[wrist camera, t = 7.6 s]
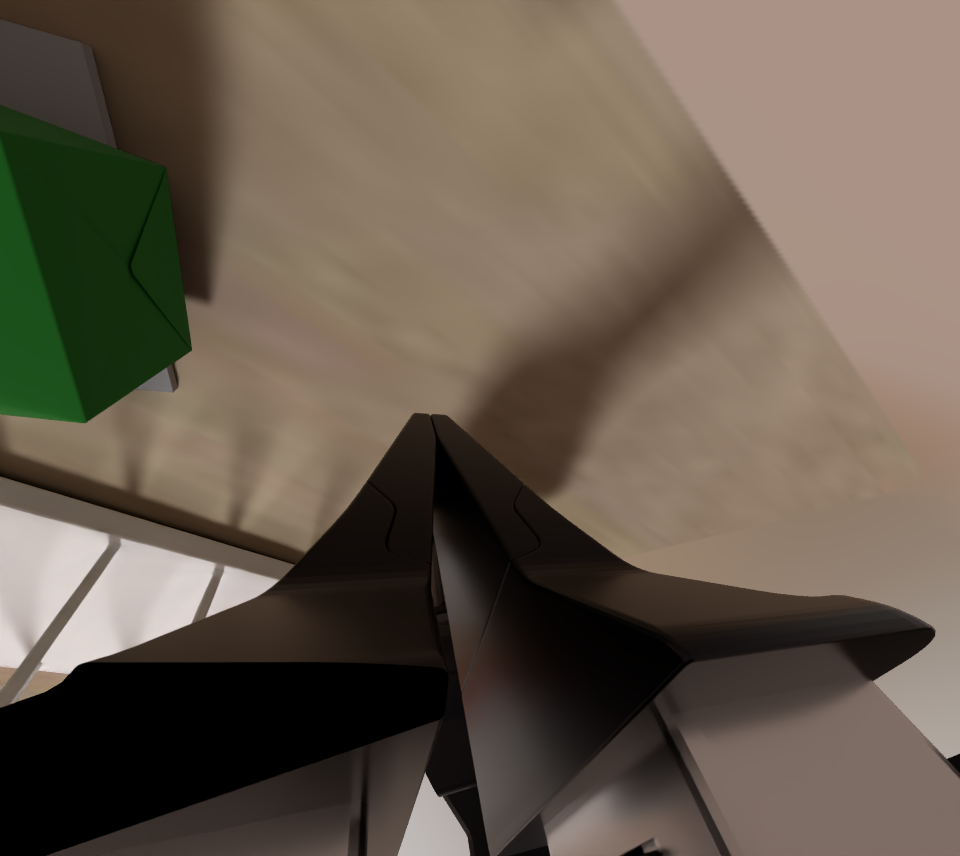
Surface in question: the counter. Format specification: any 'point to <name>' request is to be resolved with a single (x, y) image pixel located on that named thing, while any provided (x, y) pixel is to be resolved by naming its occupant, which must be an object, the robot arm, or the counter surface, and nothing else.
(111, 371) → the soya milk
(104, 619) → the file sorter
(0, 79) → the mat
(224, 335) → the counter surface
